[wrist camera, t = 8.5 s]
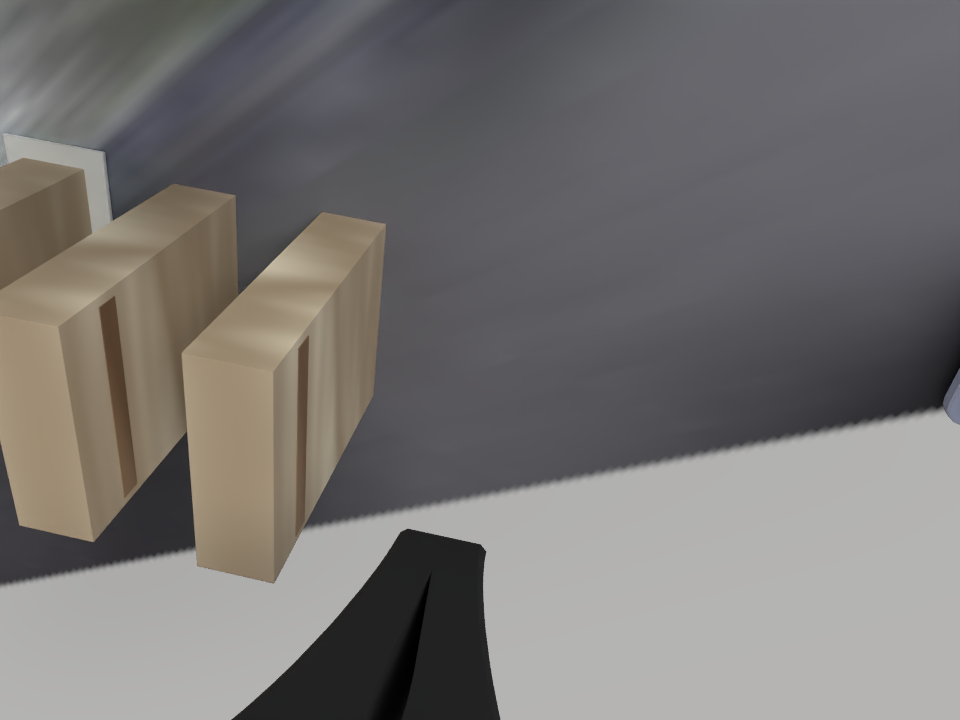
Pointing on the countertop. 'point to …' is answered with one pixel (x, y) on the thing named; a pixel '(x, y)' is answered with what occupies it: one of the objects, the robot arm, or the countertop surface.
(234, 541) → the tile
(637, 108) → the countertop surface
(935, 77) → the countertop surface
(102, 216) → the plate
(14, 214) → the tile
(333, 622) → the robot arm
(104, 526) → the tile
